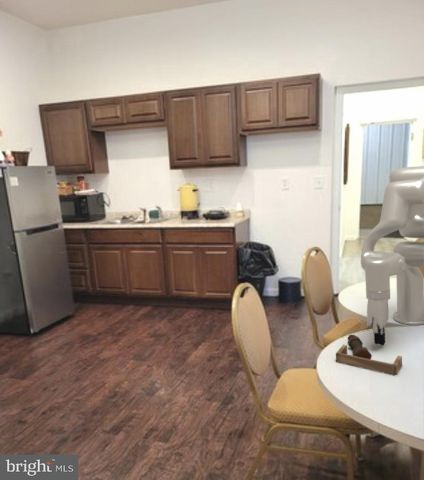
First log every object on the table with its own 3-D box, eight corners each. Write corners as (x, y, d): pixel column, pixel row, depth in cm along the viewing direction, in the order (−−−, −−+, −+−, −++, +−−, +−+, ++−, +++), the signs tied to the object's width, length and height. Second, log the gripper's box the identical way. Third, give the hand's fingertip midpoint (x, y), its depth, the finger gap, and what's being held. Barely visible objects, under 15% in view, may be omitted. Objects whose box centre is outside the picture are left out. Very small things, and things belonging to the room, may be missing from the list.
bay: (343, 352, 130) (343, 344, 129) (402, 365, 118) (401, 356, 118) (336, 361, 124) (335, 353, 124) (396, 375, 113) (396, 366, 112)
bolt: (354, 347, 136) (365, 367, 121) (341, 341, 136) (351, 360, 122) (362, 334, 135) (374, 352, 120) (349, 328, 135) (359, 345, 121)
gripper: (372, 285, 136) (374, 333, 139) (359, 299, 124) (362, 350, 128) (395, 287, 131) (396, 336, 134) (383, 302, 120) (385, 355, 123)
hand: (379, 343), depth 131 cm, fingers closed
